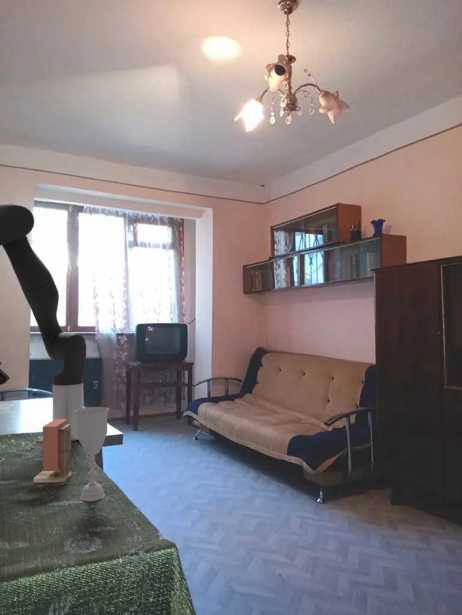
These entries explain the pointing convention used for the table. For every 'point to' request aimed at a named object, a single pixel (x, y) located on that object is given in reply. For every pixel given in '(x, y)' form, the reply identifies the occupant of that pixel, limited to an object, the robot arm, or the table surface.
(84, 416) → the chalice
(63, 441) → the pipe stand
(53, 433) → the pink block with hole
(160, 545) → the table surface
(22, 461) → the table surface
